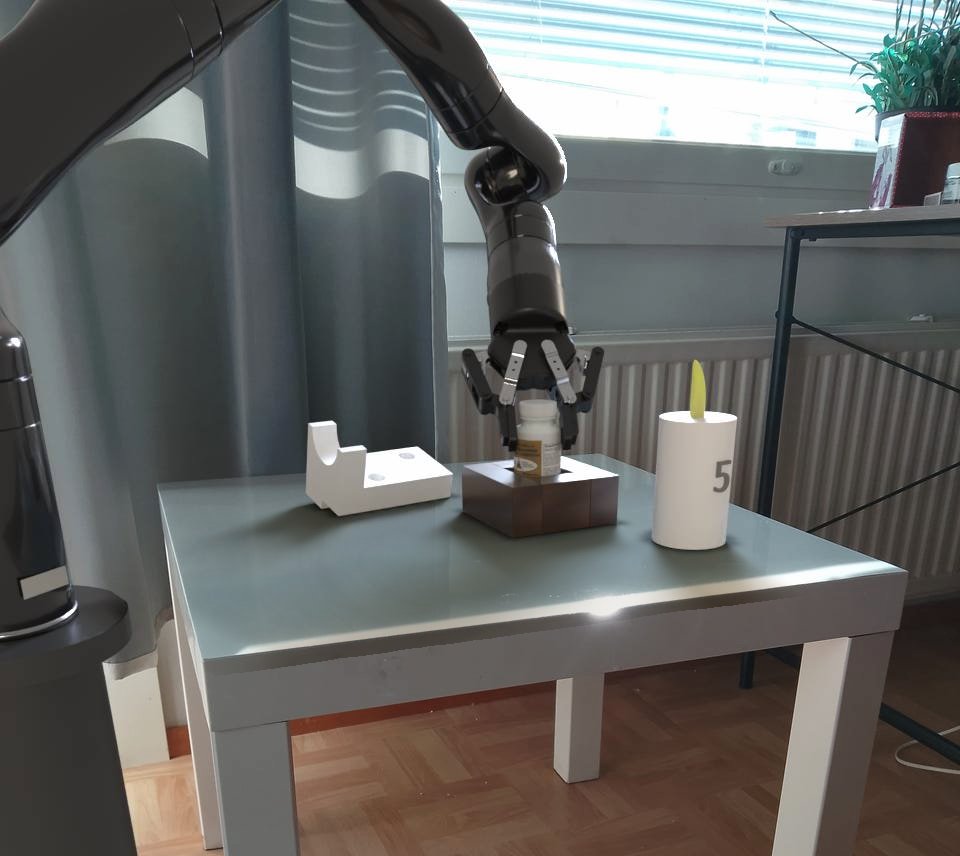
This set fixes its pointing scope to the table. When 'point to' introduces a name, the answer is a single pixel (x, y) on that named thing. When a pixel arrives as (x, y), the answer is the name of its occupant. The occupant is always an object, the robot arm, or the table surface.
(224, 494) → the table surface
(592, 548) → the table surface
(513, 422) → the robot arm
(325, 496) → the bracket
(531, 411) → the pill bottle
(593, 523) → the socket
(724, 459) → the candle
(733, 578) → the table surface
